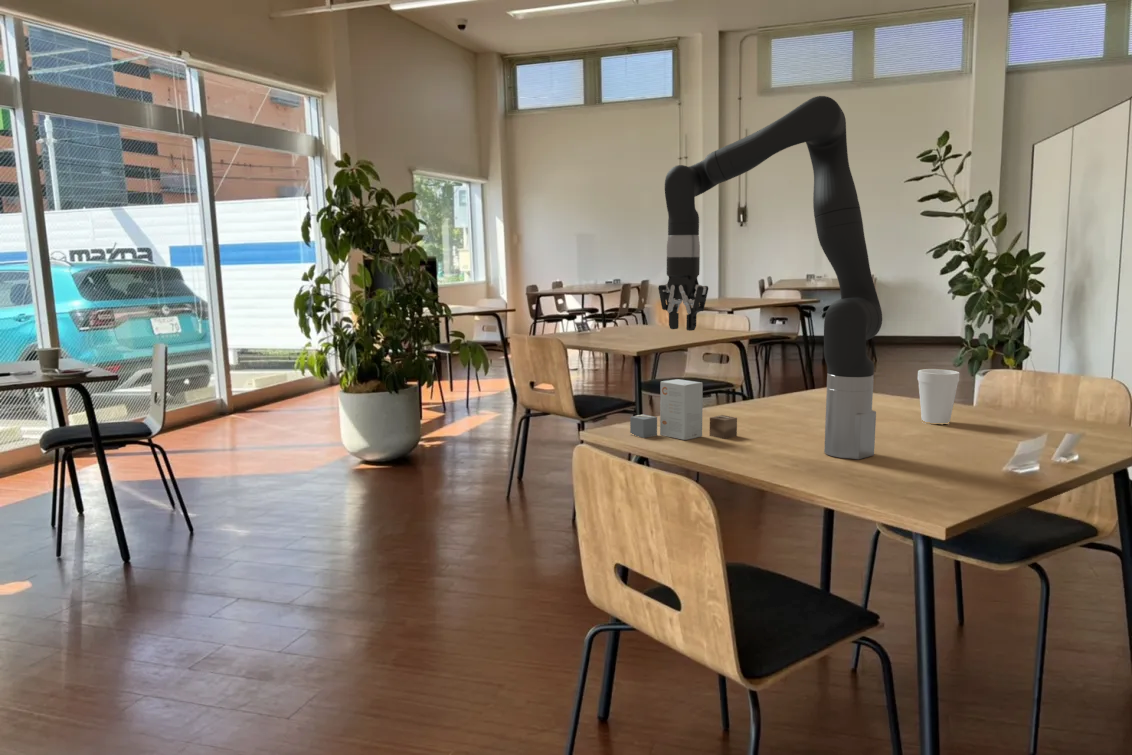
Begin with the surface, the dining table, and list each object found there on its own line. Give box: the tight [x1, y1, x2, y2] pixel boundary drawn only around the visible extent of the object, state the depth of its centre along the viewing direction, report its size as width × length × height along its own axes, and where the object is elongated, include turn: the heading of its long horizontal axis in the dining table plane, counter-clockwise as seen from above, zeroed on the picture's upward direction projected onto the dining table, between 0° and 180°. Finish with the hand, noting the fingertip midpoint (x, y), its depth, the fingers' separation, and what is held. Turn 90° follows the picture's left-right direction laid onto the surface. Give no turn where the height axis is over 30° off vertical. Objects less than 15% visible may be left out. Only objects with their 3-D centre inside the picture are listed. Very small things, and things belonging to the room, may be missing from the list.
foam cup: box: [917, 368, 960, 423], centre depth 203 cm, size 10×9×13 cm
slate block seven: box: [629, 414, 658, 439], centre depth 192 cm, size 4×4×5 cm
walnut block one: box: [709, 414, 738, 440], centre depth 191 cm, size 4×4×5 cm
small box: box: [659, 378, 704, 441], centre depth 190 cm, size 8×6×13 cm
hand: (682, 329), depth 188 cm, fingers open, 4 cm apart
